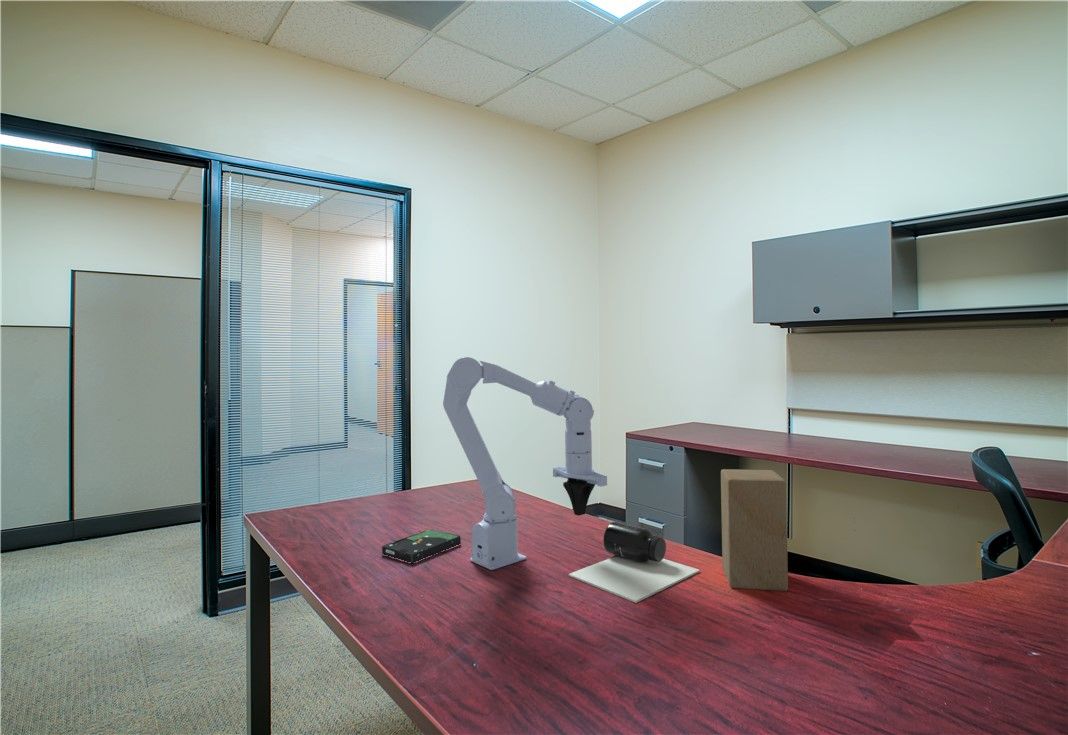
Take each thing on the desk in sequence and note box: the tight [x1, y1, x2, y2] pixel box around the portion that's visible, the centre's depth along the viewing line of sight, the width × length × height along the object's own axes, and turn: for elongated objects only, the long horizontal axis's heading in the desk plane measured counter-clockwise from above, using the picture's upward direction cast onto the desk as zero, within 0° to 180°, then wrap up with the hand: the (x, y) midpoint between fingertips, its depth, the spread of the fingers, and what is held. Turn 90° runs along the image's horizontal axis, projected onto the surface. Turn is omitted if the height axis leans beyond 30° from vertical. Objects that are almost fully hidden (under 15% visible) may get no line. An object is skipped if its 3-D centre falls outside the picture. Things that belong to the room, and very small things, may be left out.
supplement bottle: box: [602, 521, 667, 563], centre depth 113 cm, size 7×7×12 cm
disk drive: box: [381, 528, 462, 563], centre depth 123 cm, size 10×3×15 cm
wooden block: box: [720, 468, 789, 592], centre depth 103 cm, size 10×10×20 cm
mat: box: [568, 555, 701, 604], centre depth 106 cm, size 20×16×1 cm
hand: (579, 514), depth 117 cm, fingers closed
